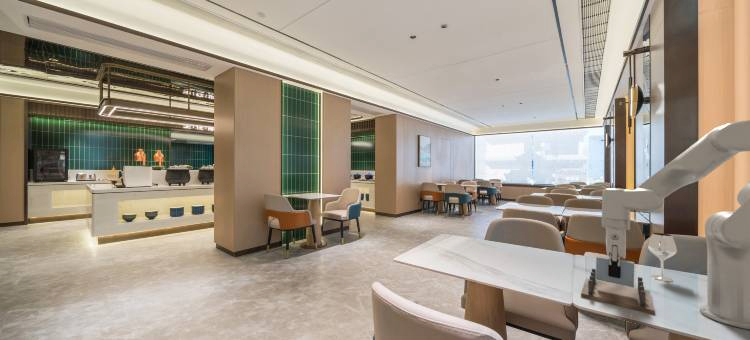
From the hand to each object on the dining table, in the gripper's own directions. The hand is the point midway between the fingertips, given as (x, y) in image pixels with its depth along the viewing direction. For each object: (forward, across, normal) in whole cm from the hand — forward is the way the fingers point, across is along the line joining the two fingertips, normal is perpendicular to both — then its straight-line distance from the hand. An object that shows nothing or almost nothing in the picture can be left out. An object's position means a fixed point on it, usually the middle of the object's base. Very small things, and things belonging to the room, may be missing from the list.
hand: (614, 275), depth 98 cm
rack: (+7, 0, 0) cm, 7 cm away
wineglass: (+7, +34, -14) cm, 38 cm away
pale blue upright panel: (+2, 0, 0) cm, 2 cm away
